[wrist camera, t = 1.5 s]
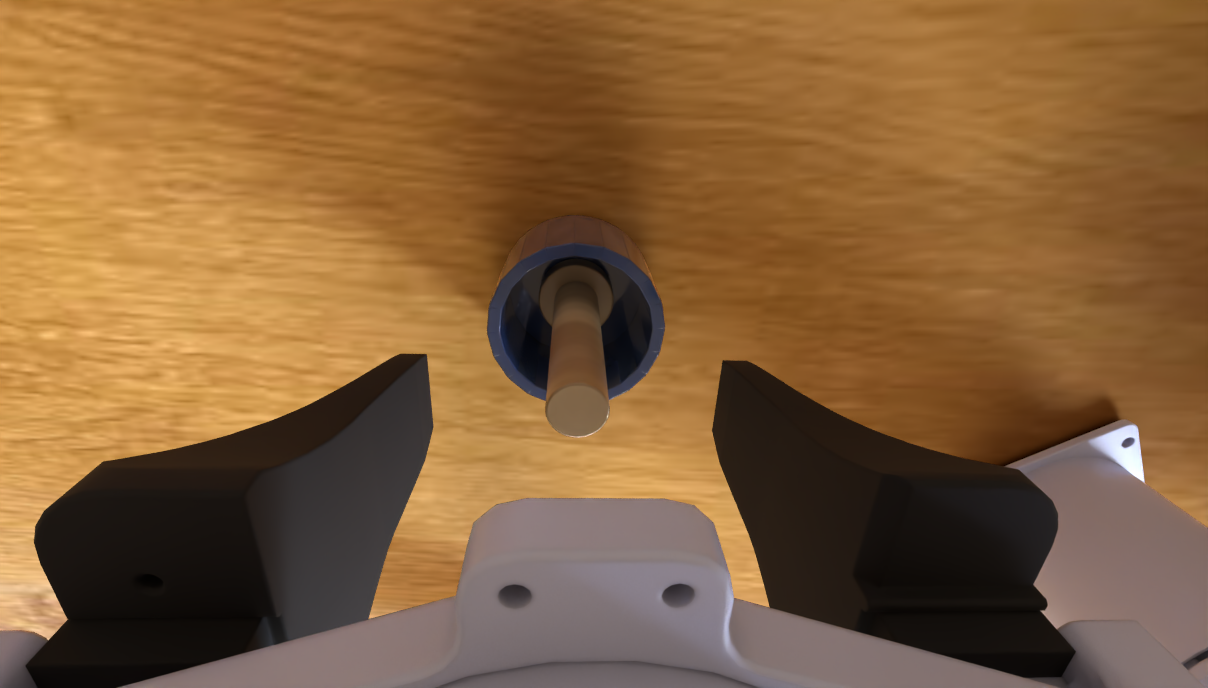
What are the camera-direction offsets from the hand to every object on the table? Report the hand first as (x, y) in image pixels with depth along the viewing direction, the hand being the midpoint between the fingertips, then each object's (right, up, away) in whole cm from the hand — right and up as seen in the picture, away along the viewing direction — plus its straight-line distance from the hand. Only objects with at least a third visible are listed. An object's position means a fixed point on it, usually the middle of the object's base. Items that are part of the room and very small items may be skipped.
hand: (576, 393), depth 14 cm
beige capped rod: (0, +3, +7) cm, 7 cm away
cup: (0, +3, +7) cm, 8 cm away
